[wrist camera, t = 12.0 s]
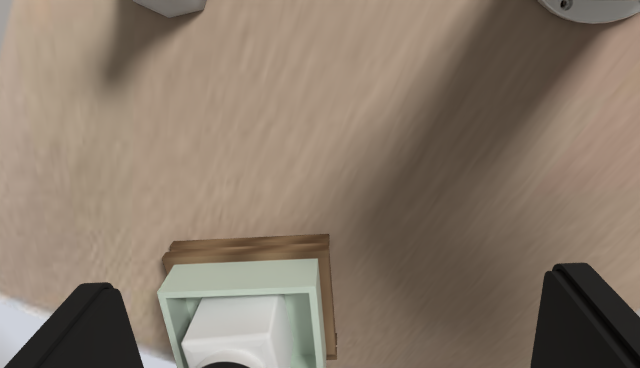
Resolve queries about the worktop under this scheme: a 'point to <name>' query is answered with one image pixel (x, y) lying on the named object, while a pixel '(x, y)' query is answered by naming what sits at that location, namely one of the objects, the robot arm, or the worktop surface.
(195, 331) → the medicine bottle
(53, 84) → the worktop surface
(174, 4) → the flask
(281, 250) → the brown wooden flat block
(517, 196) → the worktop surface
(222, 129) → the worktop surface
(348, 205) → the worktop surface
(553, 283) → the robot arm
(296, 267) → the sage crate
